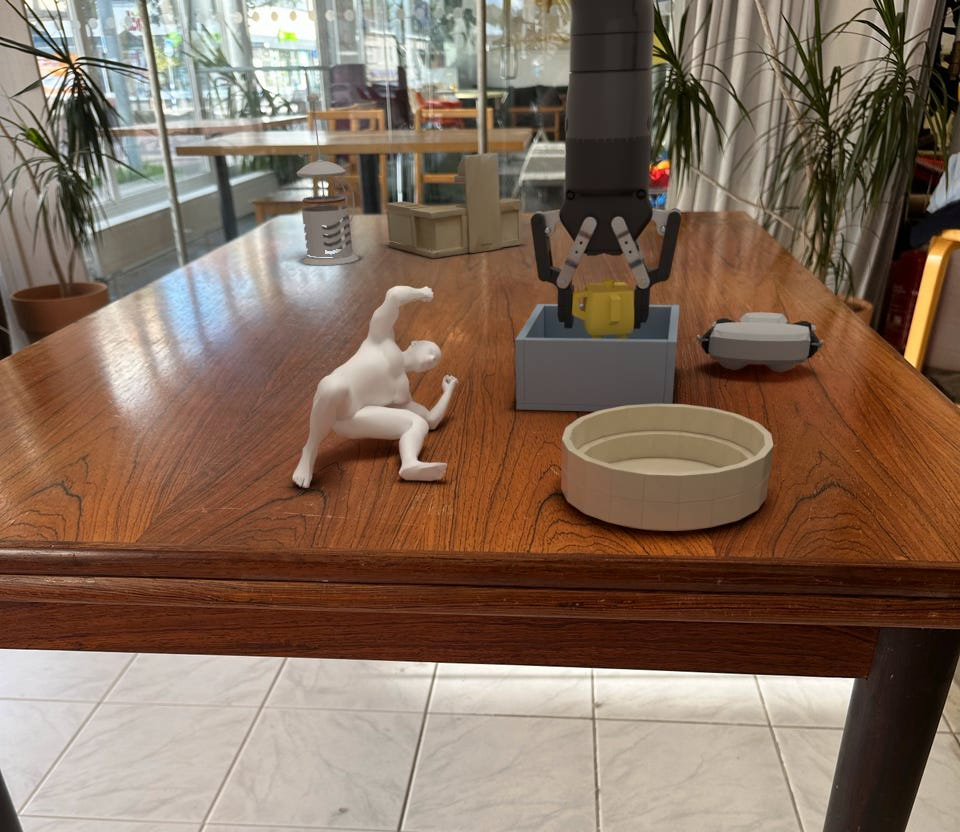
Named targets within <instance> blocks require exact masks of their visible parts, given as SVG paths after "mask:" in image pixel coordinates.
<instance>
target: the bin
mask: <svg viewBox="0 0 960 832" xmlns="http://www.w3.org/2000/svg"><path fill="white" fill-rule="evenodd" d="M580 309H582V310H583V303H582V304H581V303H580ZM679 318H680V305H679V304H649V315H648V319H647V321H646V323H641V327H640V329H633V332H632V333H630V334H626V335H627V337H628V338H627V339H618V338H617V335H616V334H613V335H602V339H593V338H592V336H593V335H590V334H588V333H587V331H586V330H585V328H584V326H583V321H582V319H580V318H578V317H576V316H574V323H573V327H572V329H565V328H564V322H559V319H558V303H537V304H536V306H535V307H534V309H533V311H532V312H531V314H530V316H529V317H528V319H527V320H526V322H525V324H524V325H523V327H522V329H521V330H520V332H519V333H518V335H517V336H516V337H515V341H514V342H515V343H514V344H515V346H514V347H515V403H516V404H515V405H516V406H515V408H516V409H515V410H520V411H521V410H522V411H523V410H525V411H555V412H556V411H557V412H591V413H594V412H596V411H600V410H605V409H610V408H615V407H621V406H628V405H641V404H673V402H674V401H673V400H674V385H675V372H676V360H677V346H678V345H677V344H678V331H679Z"/></svg>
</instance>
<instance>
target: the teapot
mask: <svg viewBox="0 0 960 832" xmlns="http://www.w3.org/2000/svg"><path fill="white" fill-rule="evenodd" d="M580 298H583V299H582V304H583V310H582V309H580V304H581V303H580ZM572 315H574V316H576V317H578V318H580V319H582V321H583V326H584V328H585V330H586V331H587V333H588V334H590V335H593V336H592V338H593V339H602V335H613V334H616V335H617V338H618V339H627V338H628V337H627V335H626V334H630V333H632V332H633V327H634V290H633V289H632V288H631V287H630V285H628V284H627V283H626V282H624V281H622V282H621V281H620V282H619V281H618V282H616V279H614V278H604V279H603V280H602V282H597V283H586V284H585V285H584V290H576V291H574V292H572Z"/></svg>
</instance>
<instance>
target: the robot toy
mask: <svg viewBox="0 0 960 832" xmlns="http://www.w3.org/2000/svg"><path fill="white" fill-rule="evenodd" d="M788 322H789V320H788V319H787V317H786V316H785V315H784V314H783V313H778V312H764V311H763V312H761V311H759V312H756V311H755V312H754V311H753V312H745V313H744V314H743V315H742V316H741V317H740V318H739V321H737V322H736V321H734V320H732V319H729V318H726V317H724V318H723V317H721V318H718V319H716V321H713V322H712V323H711V325H710V326H711V328H709V329H708V330H707V331H706V332H705V333H704V334H703V335H702V337H701V335H700V334H697V335H696V341H698V344H699V345H701V346H700V347H701V348H702V350H703V351H704V353H705V354H707V355H709V358H710V359H711V360H714V361H718V364H719V365H721V366H722V367H723V368H724V369H727V370H730V371H736V370H741V369H743V368H745V367H746V366H748V365H764V366H765V367H767V368H768V369H769V370H770V371H773V372H777V373H783V372H788V371H790V370H792V369H794V368H795V367H796V366H797V365H798V364H805V362H806V360H807V359H812V358H813V356H815V354H816V353H818V352H819V349H822V348H823V345H824V341H825V340H824V339H819V337H818V336H817V334H816V333H815V332H816V330H817V325H813V324H812V323H811V322H810V321H808V320H800V321H796V322H793V323H788Z"/></svg>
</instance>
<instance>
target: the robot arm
mask: <svg viewBox="0 0 960 832" xmlns="http://www.w3.org/2000/svg"><path fill="white" fill-rule="evenodd" d="M569 7H570V8H569V9H570V20H569V22H570V23H569V74H568V84H567V94H566V103H565V118H564V132H565V155H564V156H565V158H564V160H565V164H564V165H565V167H564V169H565V170H564V175H565V177H564V199H563V202H562V205H561V207H560V209H555V210H548V211H544V210H537V211H536V212H534V214H533V215H532V216H531V218H530V228H531V235H532V241H533V242H532V243H533V249H534V257H535V264H536V272H537V279H538V280H539V281H540V282H544V283H545V282H547V283H550V284H552V285H553V286H555V287H556V290H557V304H558V319H559V322H564V328H565V329H572V327H573V323H574V315H572V292H575V284H573V278H574V275H575V273H576V271H577V269H578V266H579V265H580V262H581V261H582V258H583V256H584V255H586V256H587V257H596V256H599V255H603V254H605V255H608V256H613V257H614V256H615V257H617V256H619V257H620V256H622V255H623V256H624V258H625V261H626V263H627V266H628V267H629V270H630V271H631V273H632V276H633V278H634V281H635V283H636V284H635V285H634V291H633V295H634V327H633V329H640V327H641V323H646V321H647V319H648V315H649V305H650V300H651V299H650V298H651V289H652V287H653V286H654V285H656V284H659V283H661V282H666V281H668V280H669V279H670V276H671V271H672V268H673V261H674V256H675V251H676V247H677V241H678V238H679V232H680V227H681V222H682V211H681V210H680V208H676V207H673V208H672V209H671V210H669V209H663V208H662V209H661V208H654V207H653V204H652V202H651V200H650V196H649V190H650V170H651V152H652V151H651V150H652V134H653V133H652V131H653V124H654V123H653V122H654V119H653V115H654V91H653V79H652V78H653V71H652V69H653V57H654V56H653V55H654V34H655V33H654V32H655V7H654V1H653V0H569ZM651 221H652V222H653V223H655V225H656V233H657V234H658V235H659V236H660V237H663V238H662V239H663V240H662V244H661V249H660V250H661V251H660V254H659V259H658V265H656V266H654V267H651V268H649V267H648V265H647V261H646V259H645V257H644V253H643V251H642V248H641V246H640V244H639V241H638V238H640V236H641V234H642V233H643V232H644V231H645V229H646V228H647V226H648V225H649V223H650V222H651ZM559 222H560V223H561V224H562V226H563V227H564V229H565V231H566V232H567V233H568V235H569V236H570V238H571V240H572V241H573V243H572V246H571V248H570V250H569V253H568V255H567V257H566V258H565V261H564V263H563V266H562V268H560V267H557V266H554V261H553V252H552V244H551V237H552V236H553V235H554V234H555V232H556V229H557V224H558V223H559Z"/></svg>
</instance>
